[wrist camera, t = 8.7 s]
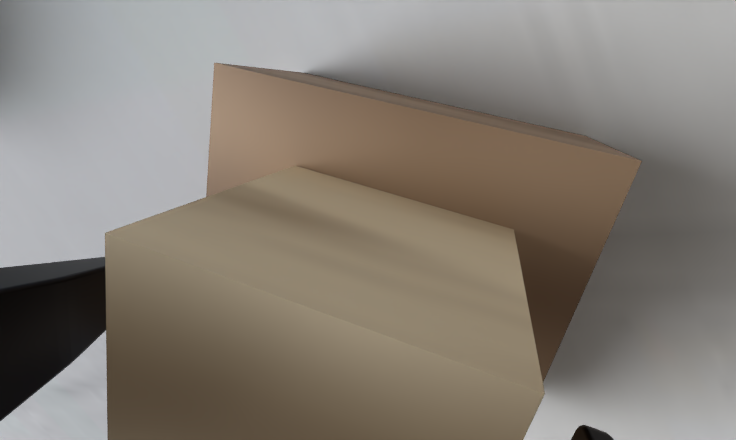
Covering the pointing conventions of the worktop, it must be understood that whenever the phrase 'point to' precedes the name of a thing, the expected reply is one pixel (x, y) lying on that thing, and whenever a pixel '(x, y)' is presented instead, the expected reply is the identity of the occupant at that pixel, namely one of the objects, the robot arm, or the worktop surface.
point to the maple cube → (317, 319)
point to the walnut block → (433, 170)
